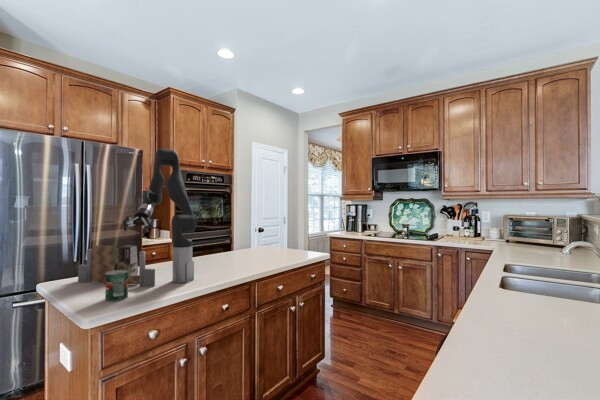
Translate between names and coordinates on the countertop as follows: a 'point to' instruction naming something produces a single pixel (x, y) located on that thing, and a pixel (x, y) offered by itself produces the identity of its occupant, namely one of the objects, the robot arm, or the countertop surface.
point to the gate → (106, 264)
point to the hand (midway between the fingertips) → (134, 230)
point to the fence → (144, 274)
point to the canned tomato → (116, 285)
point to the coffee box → (127, 259)
